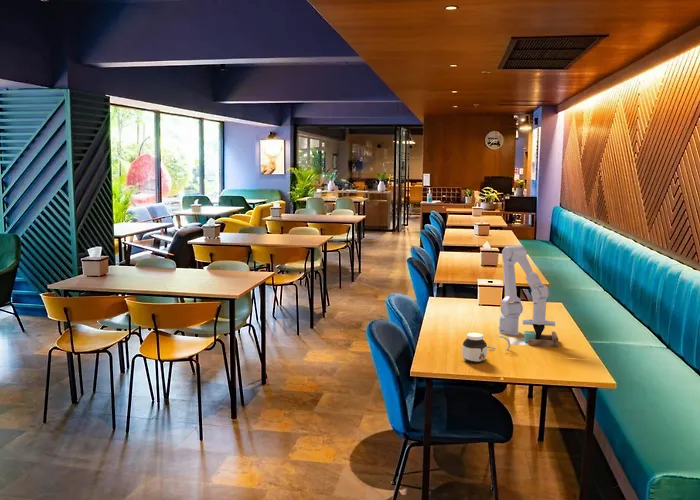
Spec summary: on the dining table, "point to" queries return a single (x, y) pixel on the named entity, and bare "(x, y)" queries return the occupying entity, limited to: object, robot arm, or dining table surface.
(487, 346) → the hook
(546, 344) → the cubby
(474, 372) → the dining table surface
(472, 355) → the spread jar
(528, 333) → the teal block
